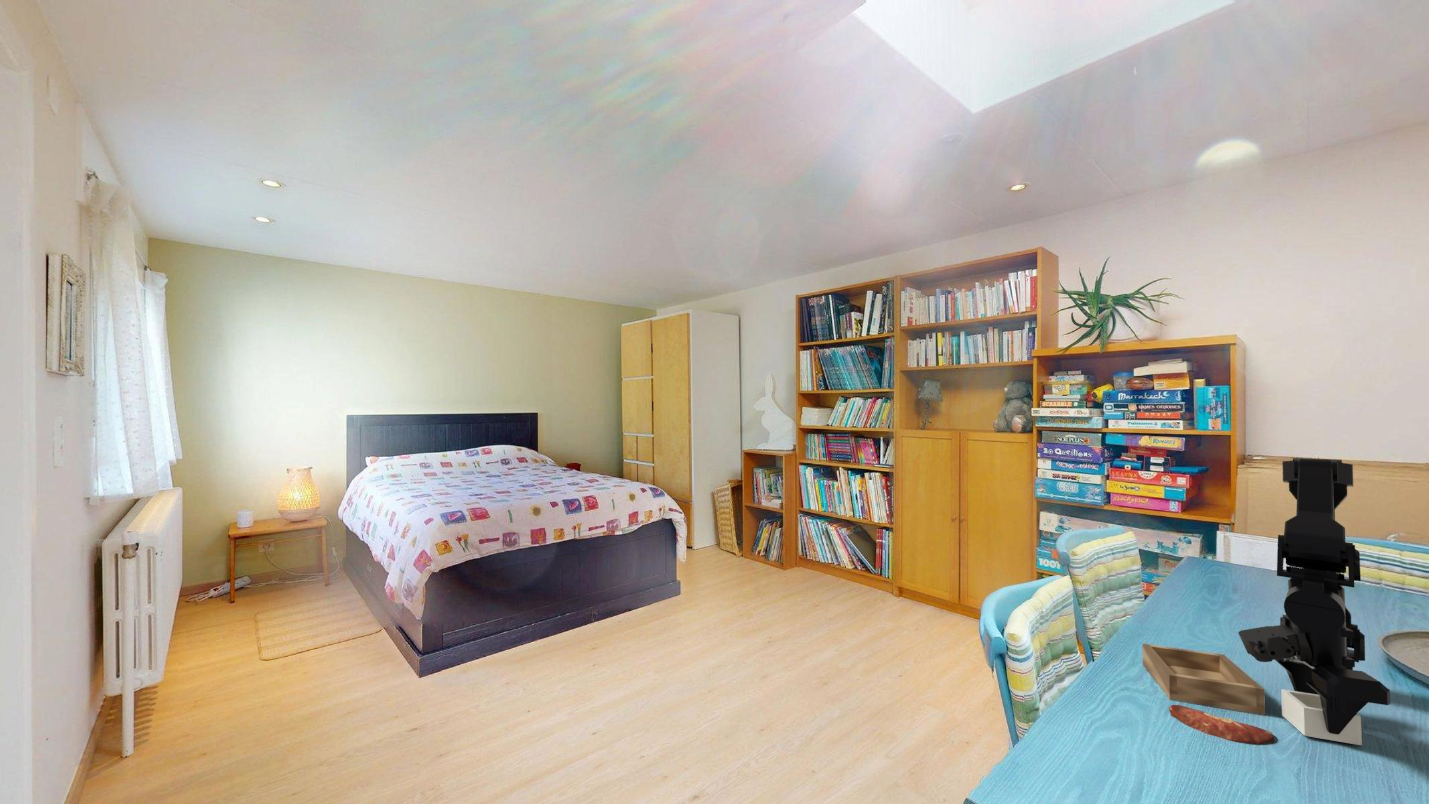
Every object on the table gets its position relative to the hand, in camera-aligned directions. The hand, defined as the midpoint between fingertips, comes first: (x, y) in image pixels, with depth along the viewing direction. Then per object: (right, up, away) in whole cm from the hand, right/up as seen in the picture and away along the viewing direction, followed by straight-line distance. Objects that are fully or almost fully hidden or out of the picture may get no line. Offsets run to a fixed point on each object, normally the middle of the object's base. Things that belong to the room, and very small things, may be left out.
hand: (1319, 722), depth 82 cm
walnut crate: (-6, -2, +13) cm, 15 cm away
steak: (-13, -2, +1) cm, 14 cm away
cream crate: (0, -1, 0) cm, 1 cm away
